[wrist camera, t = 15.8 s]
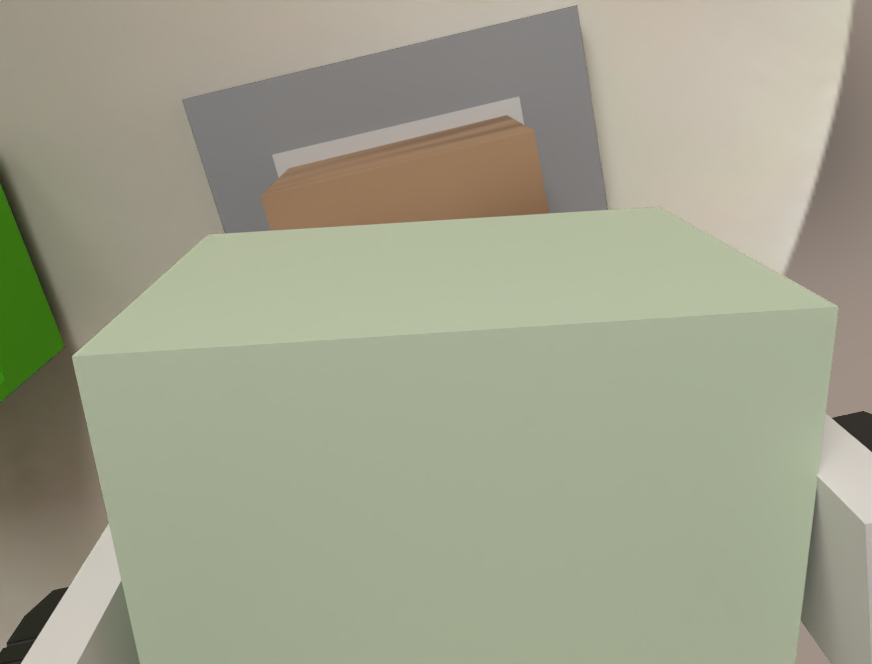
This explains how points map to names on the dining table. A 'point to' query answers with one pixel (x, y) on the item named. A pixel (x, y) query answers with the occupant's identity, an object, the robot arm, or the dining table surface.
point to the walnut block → (416, 180)
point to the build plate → (407, 111)
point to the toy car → (21, 310)
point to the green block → (463, 445)
